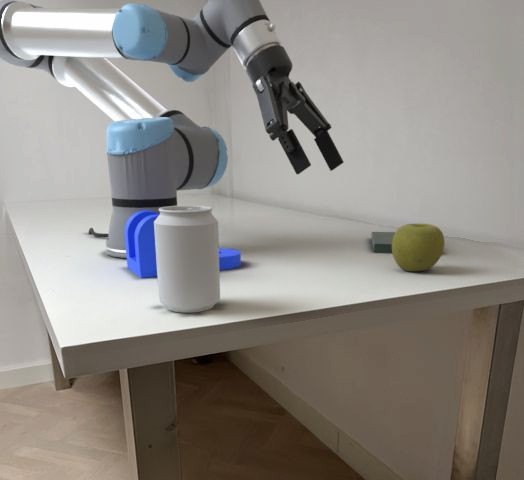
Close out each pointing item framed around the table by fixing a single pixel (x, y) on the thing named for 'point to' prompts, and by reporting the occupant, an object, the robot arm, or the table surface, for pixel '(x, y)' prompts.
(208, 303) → the can
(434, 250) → the apple
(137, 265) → the bracket
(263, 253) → the table surface
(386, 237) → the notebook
